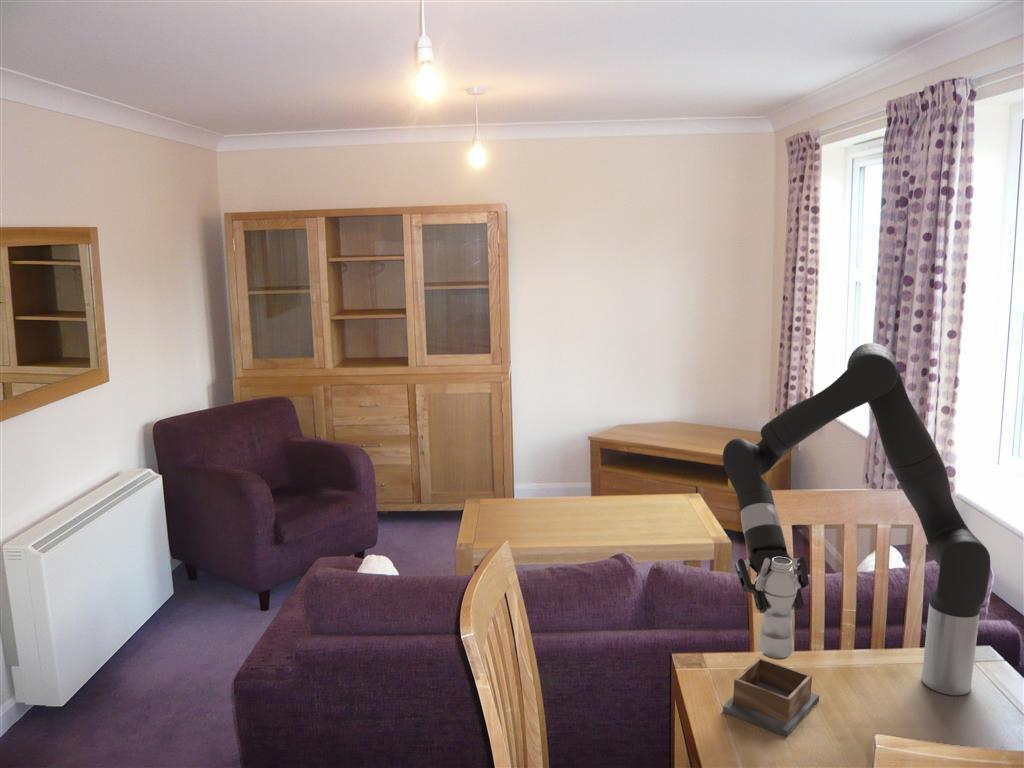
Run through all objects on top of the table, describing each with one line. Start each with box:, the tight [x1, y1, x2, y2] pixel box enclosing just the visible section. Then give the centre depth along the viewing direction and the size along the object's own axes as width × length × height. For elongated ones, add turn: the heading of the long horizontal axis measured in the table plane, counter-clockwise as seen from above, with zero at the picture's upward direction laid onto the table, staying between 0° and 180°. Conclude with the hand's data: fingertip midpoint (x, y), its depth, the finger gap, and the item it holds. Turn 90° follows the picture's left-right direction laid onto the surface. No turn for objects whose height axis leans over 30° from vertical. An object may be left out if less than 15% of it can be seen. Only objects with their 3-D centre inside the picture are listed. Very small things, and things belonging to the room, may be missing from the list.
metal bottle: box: [757, 557, 797, 661], centre depth 168 cm, size 6×7×20 cm
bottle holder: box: [722, 656, 820, 738], centre depth 172 cm, size 16×13×6 cm
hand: (781, 610), depth 167 cm, fingers closed on metal bottle, 6 cm apart
